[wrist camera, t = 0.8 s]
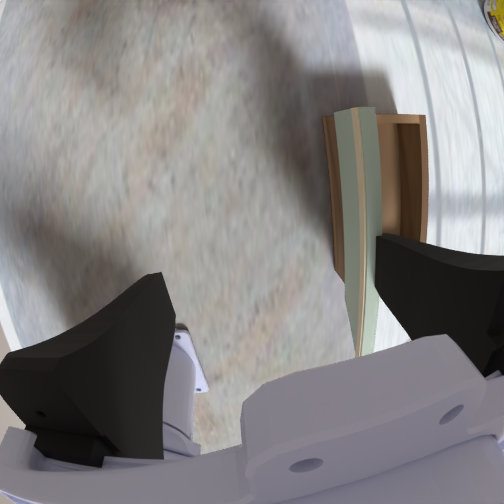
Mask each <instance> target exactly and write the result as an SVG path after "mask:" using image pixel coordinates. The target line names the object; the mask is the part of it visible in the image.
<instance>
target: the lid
mask: <svg viewBox="0 0 504 504" xmlns="http://www.w3.org/2000/svg"><path fill="white" fill-rule="evenodd" d="M334 120H335V128H336V136H337V145H338V155H339V165H340V177H341V190H342V205H343V224H344V253H345V302H346V306H347V311H348V316H349V321H350V326H351V331H352V337H353V342H354V348H355V353H356V355H355V358H357V357H361V356H364V355H368V354H371V353H373V350H374V343H375V334H376V326H377V316H378V305H379V294H378V292H377V290H376V289H375V287H374V285H375V261H376V236H380V235H382V188H381V166H380V151H379V139H378V128H377V119H376V110H375V107H354V108H351V109H347V110H342V111H337V112H334Z"/></svg>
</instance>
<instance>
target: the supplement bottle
mask: <svg viewBox="0 0 504 504" xmlns="http://www.w3.org/2000/svg"><path fill="white" fill-rule="evenodd" d="M484 13H485V17H486V20H487V22H488V24H489V26H490V28H491V29H492V31H493V32H494V34H495V35H496V36H497V37H498V38H499V39H500V40H501V41H502V42H504V0H486V1H485V3H484Z"/></svg>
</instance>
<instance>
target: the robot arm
mask: <svg viewBox="0 0 504 504" xmlns="http://www.w3.org/2000/svg"><path fill="white" fill-rule="evenodd" d="M374 287H375V289H376V290H377V292H378V294H379V296H380V297H381V299H382V300H383V302H384V303H385V304H386V306H387V307H388V308H389V310H390V311H391V312H392V314H393V315H394V316H395V317H396V319H397V320H398V321H399V323H400V324H401V326H402V327H403V328H404V330H405V331H406V332H407V334H408V335H409V337H410V338H411V340H412V341H410V342H407V343H404V344H401V345H398V346H395V347H391V348H388V349H385V350H382V351H378V352H375V353H371V354H368V355H364V356H361V357H357V358H353V359H349V360H346V361H342V362H338V363H334V364H329V365H325V366H321V367H317V368H312V369H307V370H303V371H298V372H294V373H291V374H289V375H286V376H283V377H281V378H278V379H275V380H272V381H270V382H267V383H265V384H263V385H262V386H261V387H260V388H259V389H257V390H256V391H255V392H254V393H253V394H252V395H251V396H250V397H248V398H247V399H246V400H245V401H244V402H243V405H242V412H241V418H240V423H241V437H242V444H240V445H237V446H233V447H230V448H226V449H222V450H219V451H215V452H211V453H207V454H202V455H200V447H201V445H200V444H197V443H194V442H193V422H194V403H195V393H200V392H207V391H208V390H209V386H208V383H207V381H206V378H205V375H204V373H203V370H202V368H201V365H200V362H199V359H198V357H197V354H196V351H195V348H194V345H193V343H192V340H191V337H190V334H189V332H188V331H187V330H176V331H175V318H176V314H175V311H174V308H173V306H172V303H171V300H170V297H169V294H168V290H167V287H166V284H165V281H164V278H163V275H162V272H159V273H153V274H147V275H145V276H144V277H142V278H141V279H139V280H138V281H137V282H136V283H134V284H133V285H132V286H131V287H129V288H128V289H127V290H126V291H124V292H123V293H122V294H121V295H120V296H118V297H117V298H116V299H115V300H113V301H112V302H111V303H109V304H108V305H107V306H105V307H104V308H103V309H102V310H100V311H99V312H97V313H96V314H94V315H93V316H92V317H90V318H88V319H87V320H85V321H84V322H82V323H80V324H79V325H77V326H75V327H73V328H71V329H69V330H67V331H65V332H63V333H62V334H60V335H57V336H55V337H53V338H51V339H48V340H46V341H43V342H41V343H38V344H35V345H33V346H29V347H26V348H23V349H20V350H16V351H13V352H9V353H8V354H7V355H6V356H5V358H4V359H3V361H2V362H1V364H0V395H1V396H2V398H3V399H4V400H5V402H6V403H7V404H8V405H9V406H10V408H11V409H12V410H13V411H14V412H15V413H16V414H17V416H18V417H19V418H20V419H21V420H22V421H23V423H24V424H25V425H26V427H25V429H24V430H23V429H19V428H15V427H8V429H7V431H6V434H5V436H4V438H3V440H2V443H1V445H0V493H1V494H3V495H4V496H5V497H7V498H8V499H10V500H11V501H13V502H14V503H16V504H504V256H497V255H482V254H473V253H466V252H461V251H455V250H450V249H446V248H442V247H438V246H434V245H431V244H427V243H424V242H420V241H417V240H413V239H410V238H406V237H403V236H399V235H395V234H389V233H382V235H380V236H376V261H375V285H374ZM176 335H179V336H180V337H177V336H176ZM198 388H200V389H198Z"/></svg>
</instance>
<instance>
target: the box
mask: <svg viewBox="0 0 504 504" xmlns="http://www.w3.org/2000/svg"><path fill="white" fill-rule="evenodd" d="M376 119H377V128H378V139H379V151H380V166H381V188H382V233H389V234H395V235H399V236H403V237H406V238H410V239H413V240H417V241H420V242H424V243H426V238H427V223H428V194H429V172H428V143H427V128H426V117H425V115H411V114H376ZM323 125H324V133H325V141H326V150H327V160H328V169H329V180H330V192H331V205H332V220H333V238H334V261H335V271H336V272H337V274H338V275H339V276H340V278H341V279H342V281H343V282H344V283H345V253H344V224H343V205H342V190H341V177H340V165H339V155H338V145H337V136H336V128H335V120H334V116H328V117H323Z"/></svg>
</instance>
